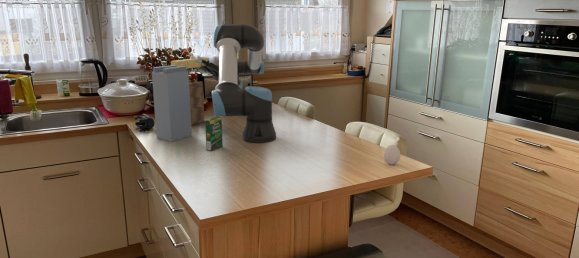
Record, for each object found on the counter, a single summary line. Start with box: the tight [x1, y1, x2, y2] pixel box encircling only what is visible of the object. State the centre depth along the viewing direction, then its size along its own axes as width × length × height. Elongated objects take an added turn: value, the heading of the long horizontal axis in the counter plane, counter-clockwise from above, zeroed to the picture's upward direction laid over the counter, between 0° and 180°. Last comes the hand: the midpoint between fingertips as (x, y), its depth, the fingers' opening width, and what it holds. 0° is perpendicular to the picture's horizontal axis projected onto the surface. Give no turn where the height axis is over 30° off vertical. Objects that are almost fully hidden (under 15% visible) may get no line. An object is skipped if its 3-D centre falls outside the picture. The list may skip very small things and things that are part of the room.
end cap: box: [134, 113, 156, 133], centre depth 217 cm, size 10×7×7 cm
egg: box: [383, 144, 401, 166], centre depth 166 cm, size 6×6×8 cm
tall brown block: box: [189, 79, 205, 126], centre depth 229 cm, size 10×10×21 cm
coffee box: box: [204, 115, 224, 152], centre depth 184 cm, size 8×3×13 cm, turn 150°
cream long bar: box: [170, 57, 210, 69], centre depth 227 cm, size 22×4×4 cm, turn 145°
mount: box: [151, 64, 192, 143], centre depth 200 cm, size 12×10×32 cm
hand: (193, 57), depth 228 cm, fingers closed on cream long bar, 4 cm apart
